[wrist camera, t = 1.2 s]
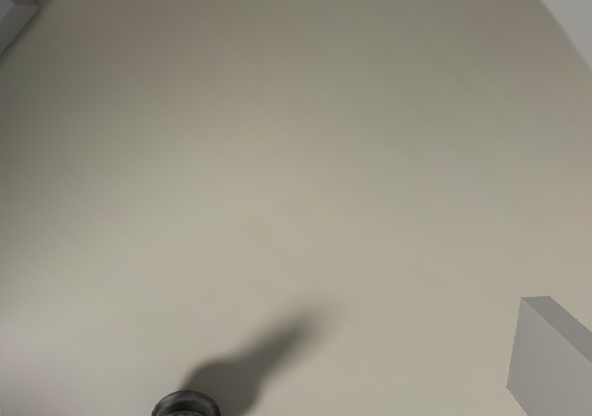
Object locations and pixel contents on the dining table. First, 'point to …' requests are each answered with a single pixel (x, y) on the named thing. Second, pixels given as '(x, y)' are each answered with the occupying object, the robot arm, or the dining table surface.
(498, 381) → the dining table surface
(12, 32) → the scale
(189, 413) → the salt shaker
